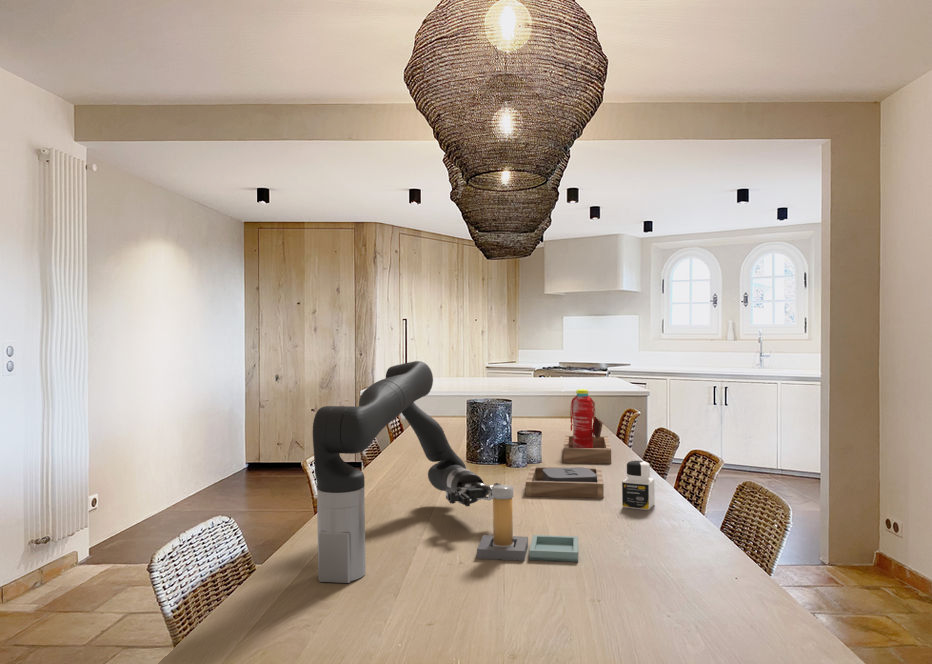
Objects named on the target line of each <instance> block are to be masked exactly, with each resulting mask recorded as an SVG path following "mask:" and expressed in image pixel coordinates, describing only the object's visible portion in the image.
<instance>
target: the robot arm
mask: <svg viewBox="0 0 932 664" xmlns="http://www.w3.org/2000/svg"><path fill="white" fill-rule="evenodd" d="M433 383H434V376H433V372H432V369H431V368H430V366H429V365H428V364H427V363H426V362H423V361H418V360H415V361H409V362H406V363H405V362H404V363H401V364H396V365H393V366H390V367H388V368H387V370H386V372H385V378H383V379H380V380H378V381H375V382H374V383H373V384H371V385H370V386H368V387H366V389H364V391H363V392H362V393H361V395H360V396H359V401H358V405H357V406H355V405H354V406H349V405H347V406H344V405H340V406H339V405H325V406H322V407H320V408H318V410H317V411H316V413H315V415H314V418H313V423H312V445H313V446H312V447H313V448H312V449H313V460H314V465H313V466H314V475H315V480H316V488H317V489H316V492H317V493H316V496H317V497H316V499H317V500H316V501H317V503H316V507H317V510H316V511H317V513H316V514H317V570H318V571H317V575H318V576H317V577H318V582H319V583H320V582H321V583H341V584H349V583H352V582H353V581H356V580H358V579H359V580H360V578H362V577H364V576H365V575H366V570H367V569H366V516H365V515H366V514H365V501H366V500H365V496H366V495H365V483H366V482H365V474H364V472H363V471H361V470H360V469H359V468H357V467H355V466H354V467H353V466H352V465H350V464H348V463H347V462H346V461H345V460H344V459H343V458H342V457H341V455H340V454H347V455H348V454H351V455H352V454H360V453H362V452H364V451H365V450H366V449H368V448H369V446H371V444H372V443H373V442H374V440H375V439H376V438H377V436H378V435H379V434H380V433H381V431H383V430H384V429H385V427H387V425H389V424H390V423H391V422H393V421H394V420H395V419H397V418H398V417H399V416H400V415H401V414H402V416H403V418H404V419H405V420H406V421H407V422H408V425H410V427H411V429H412V430H413V431H414V434H415V435H416V437H417V439H418V441H419V444H420V446H421V449H422V450H423V453H424V455H425V457H426V458H427V460H428V461H430V462H433V463H434V464H433V465H431V466H430V468H429V469H428V471H427V478H428V481H429V483H430V485H432V487H434V488H435V489H436V490H438V491H441V492H445V499H446V500H447V501H448V503H449V504H452V505H453V504H456V502H458V504H461V505H464V506H465V507H470V506H471V504H475V503H477V502H478V501H481V500H484V501H493V497H492V487H493V486H496V485H502V484H501V483H498V482H495V483H493V484H494V485H493V484H492V485H491V484H485V483H484V481H483V479H482V478H481V477H480V476H479V475H478V474H476V473H474V472H473V471H472V470H470V469H467V467H466V464H465V462H464V461H463V459H461V457H459V456H458V454H457V453H456V452H455V451H454V450H453V448H452V447H451V445H450V444H449V440H448V438H447V436H446V434H445V432H444V430H443V427H442V426H441V424H439V423H438V421H436V419H434V418H433V417H432V416H431V415H429V414H428V413H426V412H425V410H423V409H422V408H420V407H419V406H418V405H417V404H416V403H415V402H416V401H418V400H419V399H421V398H424V397H425V396H428V394H430V392H431V390H432V387H433V386H434V385H433Z"/></svg>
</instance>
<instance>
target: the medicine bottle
mask: <svg viewBox="0 0 932 664" xmlns="http://www.w3.org/2000/svg"><path fill="white" fill-rule="evenodd" d="M650 468H651V465H650V463H649V462H647V461H645V460H630V461H628V462H627V463H626V478H625V479H623V480H622V482H621V490H622V491H621V492H622V493H621V500H622V503H621V504H622V508H625V509H626V508H627V509H633V510H634V509H635V510H644V511H649V510H650V509H652V507H653V506H654V505H655V492H656V491H655V478H653V477H650V476H651V471H650V470H651V469H650Z"/></svg>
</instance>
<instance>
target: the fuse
mask: <svg viewBox="0 0 932 664" xmlns="http://www.w3.org/2000/svg"><path fill="white" fill-rule="evenodd" d="M492 486H493V487H492V497H493V499H492V521H493V522H492V524H493V525H492V528H493V532H492V533H493V534H492V535H493V546H495V547H514V542H513V536H514V531H513V530H514V526H513V525H514V523H513V522H514V521H513V519H514V517H513V514H514V513H513V511H514V510H513V497H514V486H513V485H509V484H501V485H496V486H494V485H492Z"/></svg>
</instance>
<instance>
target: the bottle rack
mask: <svg viewBox="0 0 932 664" xmlns="http://www.w3.org/2000/svg"><path fill="white" fill-rule="evenodd" d="M562 451H563V463H571V464H573V463H574V464H576V463H578V464H579V463H580V464H582V463H583V464H586V463H587V464H612V446H611V443H610V440H609V436H604V435H602V436H601V435H600V438H599V437H598V438H596V437H595V435H594V440H593V448H573V435H565V436H564V443H563V450H562Z"/></svg>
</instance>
